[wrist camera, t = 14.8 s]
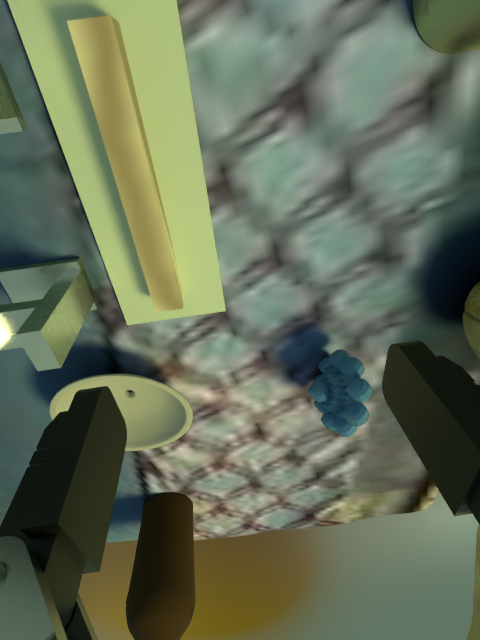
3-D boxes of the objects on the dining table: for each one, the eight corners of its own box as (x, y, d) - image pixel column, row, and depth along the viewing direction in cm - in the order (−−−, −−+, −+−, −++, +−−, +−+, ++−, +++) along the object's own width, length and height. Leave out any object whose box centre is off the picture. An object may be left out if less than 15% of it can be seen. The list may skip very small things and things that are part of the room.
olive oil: (171, 483, 61) (157, 681, 41) (207, 505, 67) (210, 689, 46) (128, 505, 64) (94, 700, 44) (165, 524, 70) (151, 706, 49)
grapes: (307, 325, 44) (338, 393, 34) (355, 329, 45) (398, 395, 35) (286, 388, 50) (307, 461, 41) (329, 390, 52) (359, 461, 42)
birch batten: (119, 22, 25) (110, 15, 23) (184, 294, 39) (182, 308, 37) (79, 27, 25) (66, 20, 23) (158, 298, 39) (155, 312, 37)
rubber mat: (170, -39, 24) (169, -41, 24) (225, 308, 41) (225, 310, 41) (3, -18, 24) (-1, -20, 24) (128, 322, 41) (127, 325, 41)
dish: (67, 419, 50) (55, 449, 45) (57, 342, 42) (42, 370, 38) (187, 425, 53) (186, 453, 49) (199, 355, 45) (199, 381, 41)
